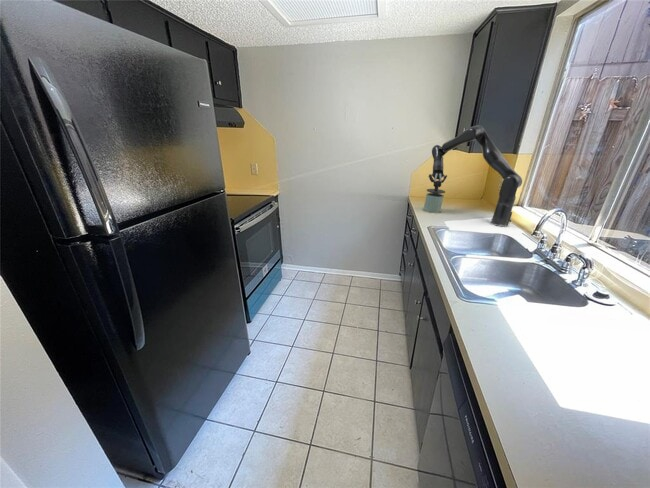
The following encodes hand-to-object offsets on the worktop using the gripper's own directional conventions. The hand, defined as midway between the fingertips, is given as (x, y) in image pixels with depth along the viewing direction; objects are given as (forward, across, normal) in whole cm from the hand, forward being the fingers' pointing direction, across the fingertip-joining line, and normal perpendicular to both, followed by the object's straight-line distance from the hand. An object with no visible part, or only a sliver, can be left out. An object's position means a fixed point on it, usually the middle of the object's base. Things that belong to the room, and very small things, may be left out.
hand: (437, 186), depth 194 cm
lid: (+1, 0, +4) cm, 5 cm away
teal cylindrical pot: (+12, 0, +15) cm, 20 cm away
